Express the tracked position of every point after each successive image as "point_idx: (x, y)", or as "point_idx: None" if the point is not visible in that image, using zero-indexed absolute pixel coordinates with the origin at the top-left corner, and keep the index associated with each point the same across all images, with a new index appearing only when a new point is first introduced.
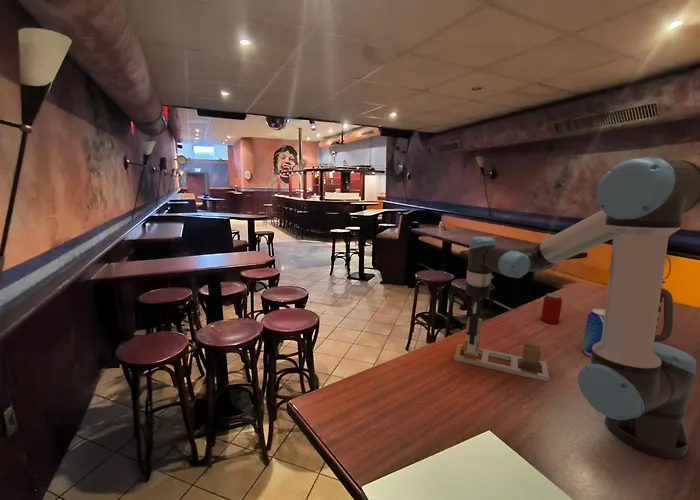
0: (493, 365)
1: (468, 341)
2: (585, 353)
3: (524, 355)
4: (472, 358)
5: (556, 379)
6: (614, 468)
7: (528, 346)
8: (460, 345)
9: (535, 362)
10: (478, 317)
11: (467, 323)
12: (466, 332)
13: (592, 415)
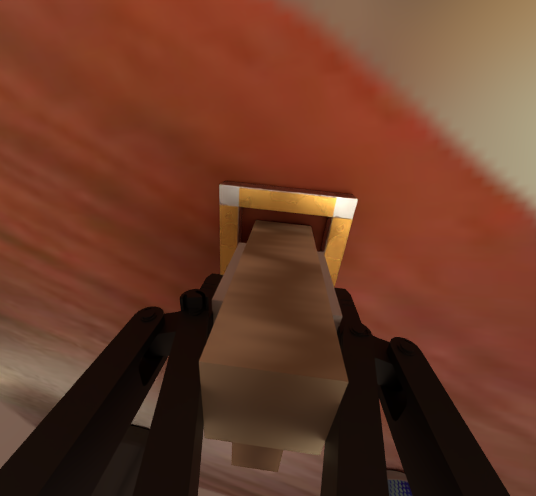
0: None
1: (226, 273)
2: (387, 471)
3: None
4: (231, 256)
5: None
6: (35, 404)
7: (256, 451)
8: (339, 210)
9: None
10: (324, 453)
11: (207, 349)
12: (186, 298)
13: (146, 418)
